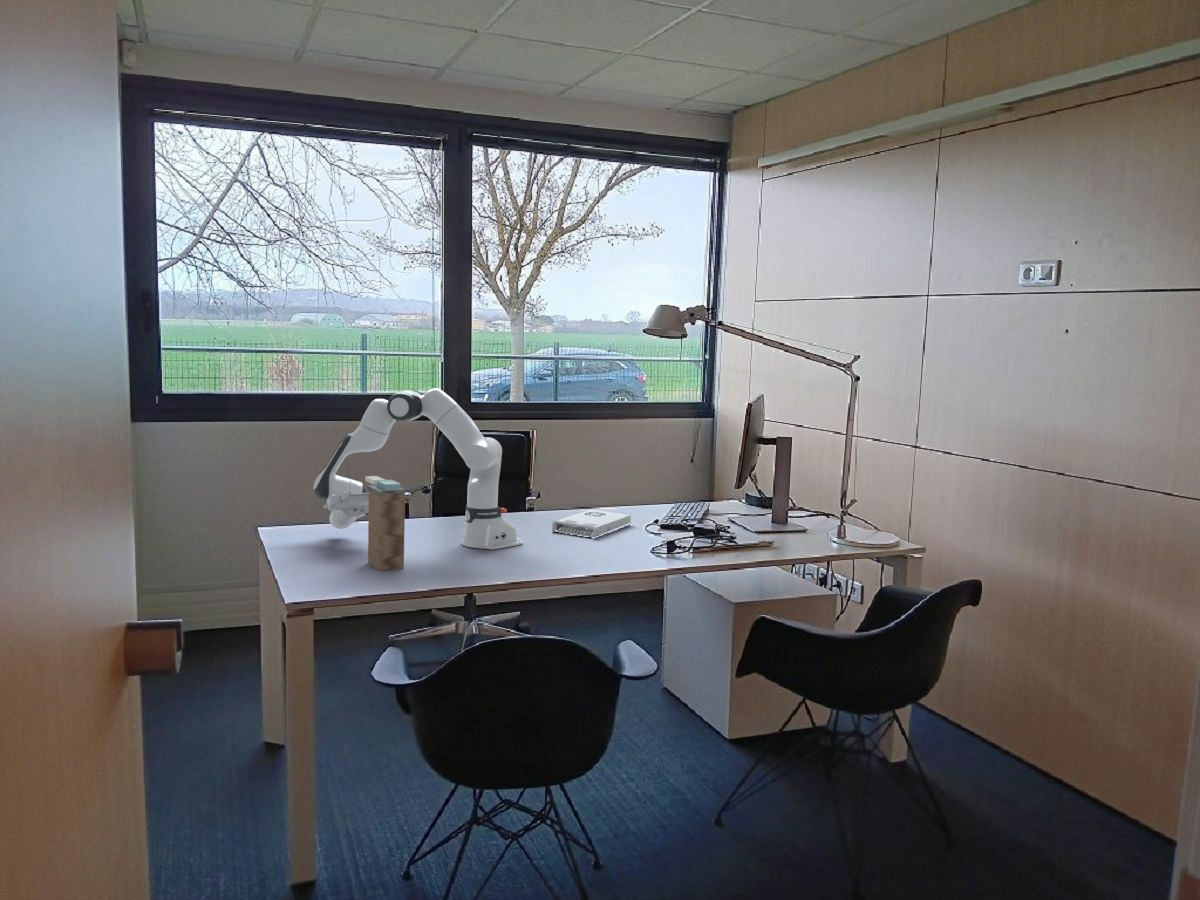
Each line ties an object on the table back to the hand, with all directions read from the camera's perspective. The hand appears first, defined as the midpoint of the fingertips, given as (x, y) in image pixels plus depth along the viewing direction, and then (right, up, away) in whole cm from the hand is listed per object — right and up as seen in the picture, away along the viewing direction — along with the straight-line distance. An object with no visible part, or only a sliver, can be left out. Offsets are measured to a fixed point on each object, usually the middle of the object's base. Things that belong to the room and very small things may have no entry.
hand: (363, 493), depth 305 cm
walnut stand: (+12, -23, -16) cm, 30 cm away
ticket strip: (+10, +3, -15) cm, 19 cm away
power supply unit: (+79, -18, +55) cm, 98 cm away
